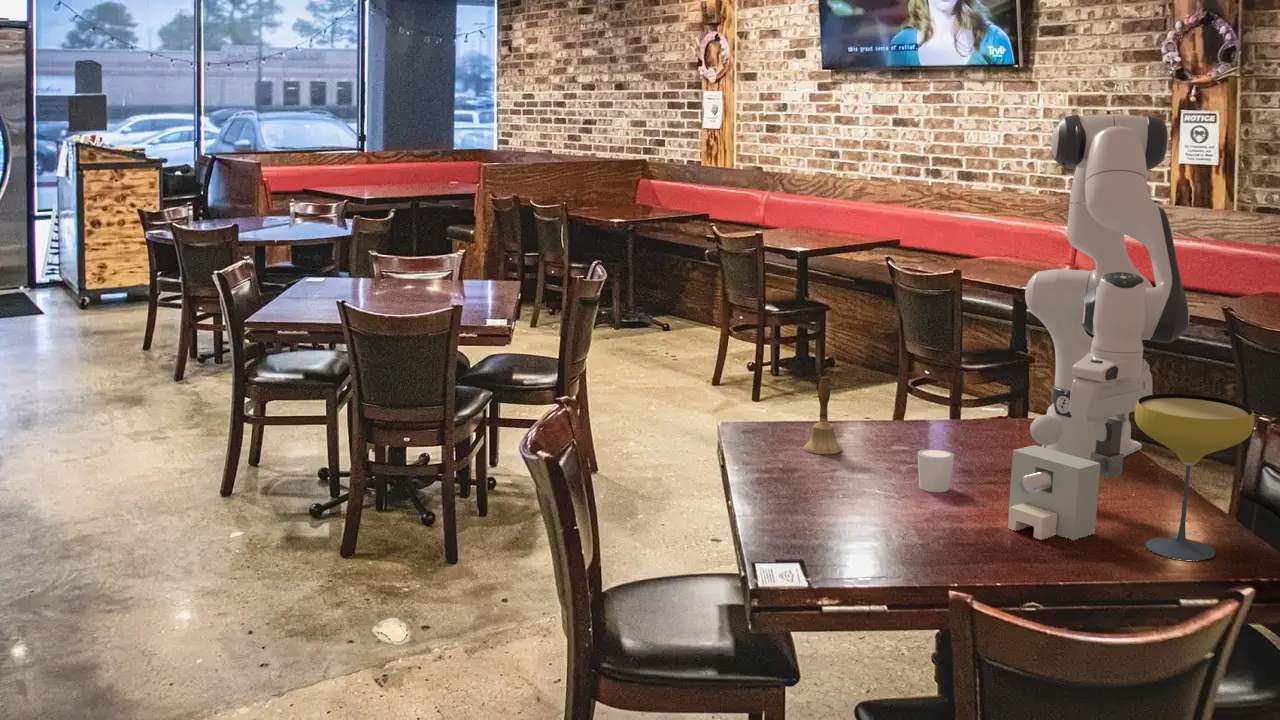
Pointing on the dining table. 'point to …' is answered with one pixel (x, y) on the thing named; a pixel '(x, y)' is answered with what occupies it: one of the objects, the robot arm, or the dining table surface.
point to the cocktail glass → (1191, 447)
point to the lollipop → (1046, 430)
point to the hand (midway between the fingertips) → (1109, 438)
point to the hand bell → (823, 426)
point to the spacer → (1033, 520)
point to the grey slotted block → (1059, 488)
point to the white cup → (935, 469)
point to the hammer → (1103, 454)
